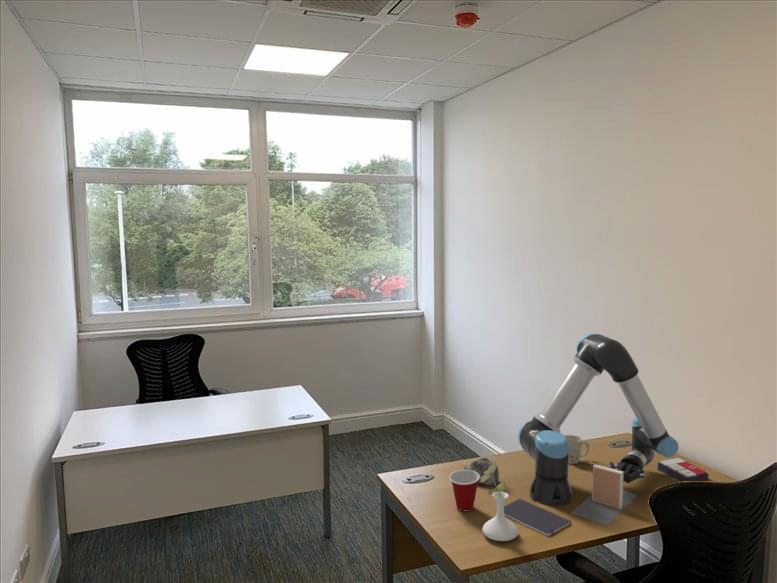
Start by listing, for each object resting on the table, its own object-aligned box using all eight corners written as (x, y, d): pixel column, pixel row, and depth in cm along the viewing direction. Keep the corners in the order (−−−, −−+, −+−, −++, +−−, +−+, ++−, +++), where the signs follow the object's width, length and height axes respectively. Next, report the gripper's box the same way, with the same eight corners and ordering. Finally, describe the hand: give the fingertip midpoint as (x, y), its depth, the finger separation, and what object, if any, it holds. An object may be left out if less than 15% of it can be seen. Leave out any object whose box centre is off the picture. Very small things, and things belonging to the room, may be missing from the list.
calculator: (687, 476, 224) (657, 460, 238) (686, 487, 225) (656, 469, 239) (709, 472, 228) (678, 456, 242) (708, 482, 228) (677, 465, 242)
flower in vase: (502, 523, 197) (503, 451, 194) (525, 539, 187) (526, 463, 184) (471, 533, 191) (471, 459, 188) (493, 550, 181) (493, 472, 178)
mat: (570, 515, 202) (570, 513, 202) (602, 486, 224) (602, 484, 224) (607, 527, 194) (608, 525, 193) (637, 496, 215) (637, 494, 215)
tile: (591, 500, 211) (592, 466, 209) (594, 498, 213) (595, 464, 211) (619, 509, 204) (621, 473, 203) (622, 506, 206) (623, 471, 205)
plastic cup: (443, 503, 211) (443, 471, 210) (470, 498, 215) (470, 467, 214) (457, 517, 201) (457, 484, 200) (485, 511, 205) (485, 479, 204)
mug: (557, 458, 250) (557, 436, 249) (582, 455, 254) (582, 432, 253) (568, 466, 242) (569, 443, 241) (594, 462, 246) (595, 439, 245)
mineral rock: (460, 479, 232) (460, 454, 230) (479, 472, 238) (479, 448, 237) (483, 490, 221) (484, 465, 220) (503, 483, 228) (503, 458, 226)
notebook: (570, 525, 196) (519, 502, 213) (571, 520, 196) (519, 498, 212) (548, 538, 188) (496, 513, 205) (548, 533, 188) (496, 509, 204)
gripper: (650, 477, 223) (629, 499, 205) (616, 468, 231) (592, 489, 214) (651, 458, 222) (630, 479, 204) (616, 450, 231) (593, 469, 213)
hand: (611, 484), depth 209 cm, fingers closed
